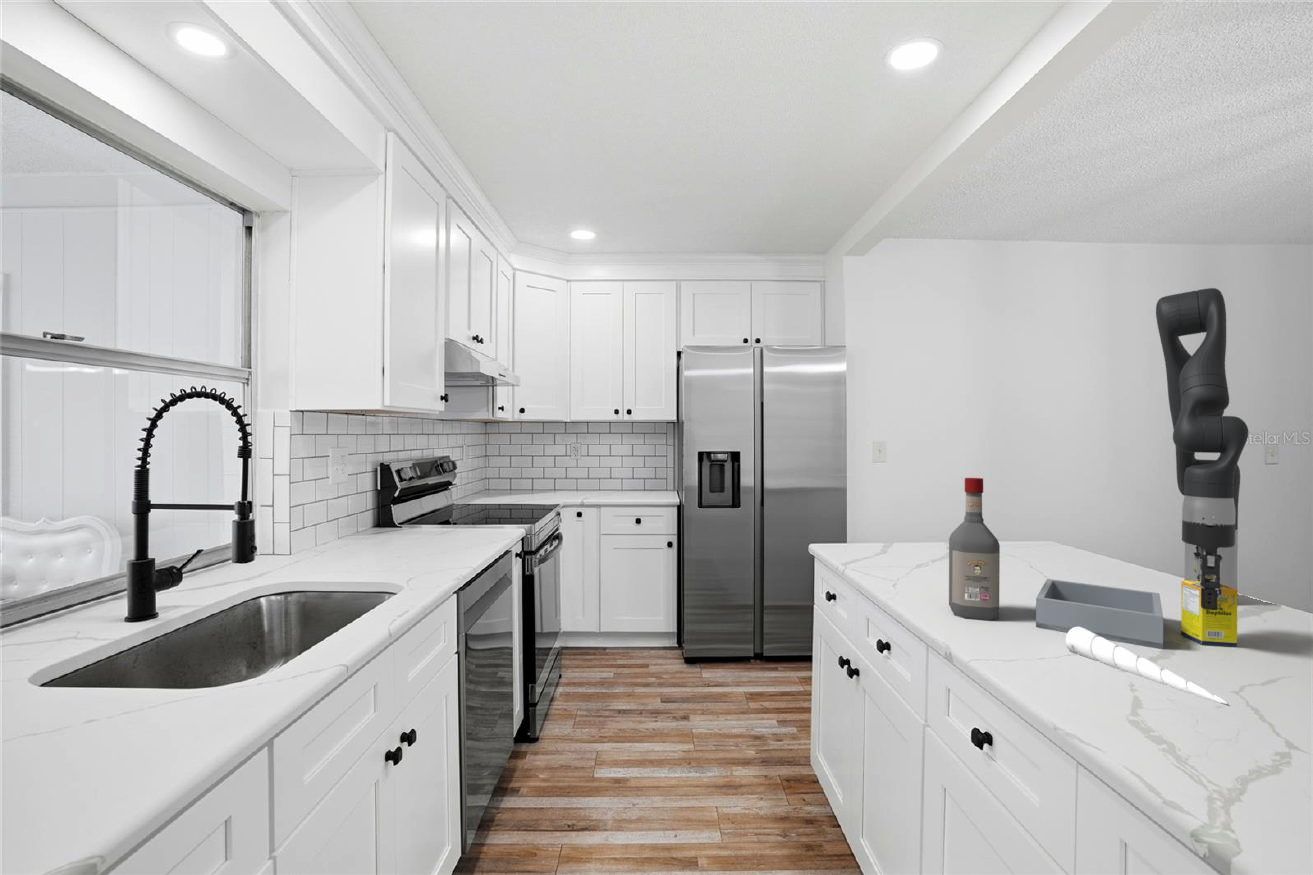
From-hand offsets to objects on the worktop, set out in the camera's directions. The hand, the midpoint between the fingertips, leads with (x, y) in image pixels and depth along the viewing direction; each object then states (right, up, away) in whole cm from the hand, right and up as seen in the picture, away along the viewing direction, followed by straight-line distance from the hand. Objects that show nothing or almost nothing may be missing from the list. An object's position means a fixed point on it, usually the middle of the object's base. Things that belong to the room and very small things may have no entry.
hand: (1206, 604), depth 115 cm
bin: (-13, -7, +10) cm, 18 cm away
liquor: (-36, -7, +17) cm, 40 cm away
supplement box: (0, -7, 0) cm, 7 cm away
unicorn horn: (-25, -8, -14) cm, 30 cm away
